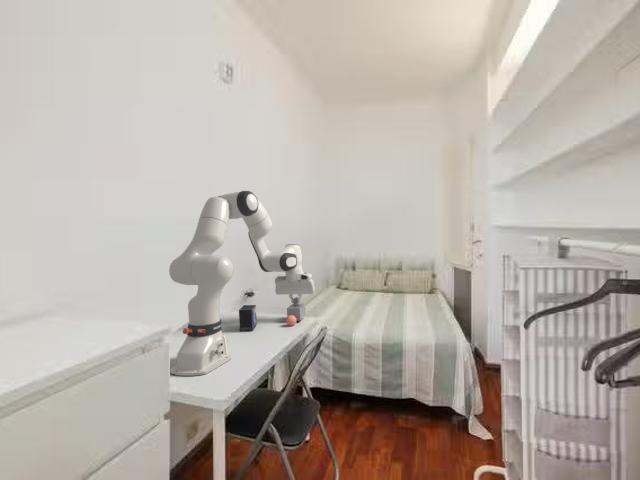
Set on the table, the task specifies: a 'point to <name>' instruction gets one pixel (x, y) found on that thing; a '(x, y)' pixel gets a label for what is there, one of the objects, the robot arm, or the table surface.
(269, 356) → the table surface
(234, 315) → the table surface
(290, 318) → the ball
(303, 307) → the gray hook block
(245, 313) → the small box
